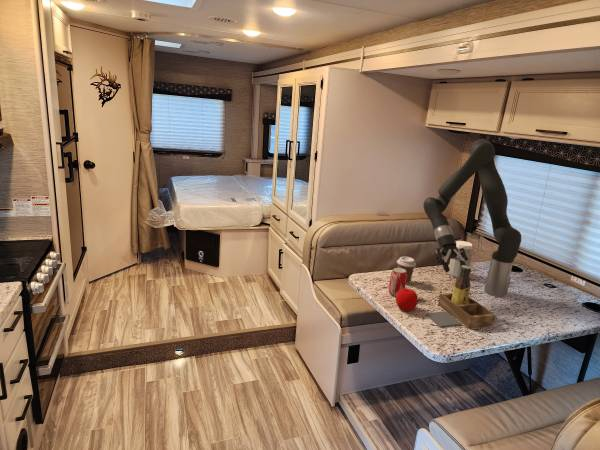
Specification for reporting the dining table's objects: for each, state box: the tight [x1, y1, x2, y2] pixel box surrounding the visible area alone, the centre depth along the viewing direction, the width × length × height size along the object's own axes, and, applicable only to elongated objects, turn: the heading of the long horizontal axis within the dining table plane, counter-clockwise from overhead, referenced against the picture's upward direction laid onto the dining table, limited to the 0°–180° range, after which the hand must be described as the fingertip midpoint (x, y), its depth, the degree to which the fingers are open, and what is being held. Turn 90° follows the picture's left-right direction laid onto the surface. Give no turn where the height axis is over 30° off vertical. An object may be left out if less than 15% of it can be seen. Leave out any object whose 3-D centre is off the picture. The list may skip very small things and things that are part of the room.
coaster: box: [424, 310, 462, 328], centre depth 160 cm, size 10×10×1 cm
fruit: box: [395, 286, 419, 312], centre depth 166 cm, size 9×9×10 cm
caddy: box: [437, 292, 497, 329], centre depth 165 cm, size 12×20×5 cm, turn 16°
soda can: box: [388, 267, 407, 297], centre depth 178 cm, size 7×7×12 cm
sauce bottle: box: [451, 265, 472, 305], centre depth 167 cm, size 7×6×20 cm
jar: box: [448, 240, 473, 279], centre depth 204 cm, size 10×10×18 cm
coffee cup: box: [396, 256, 417, 285], centre depth 192 cm, size 9×9×12 cm
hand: (456, 271), depth 170 cm, fingers open, 8 cm apart
